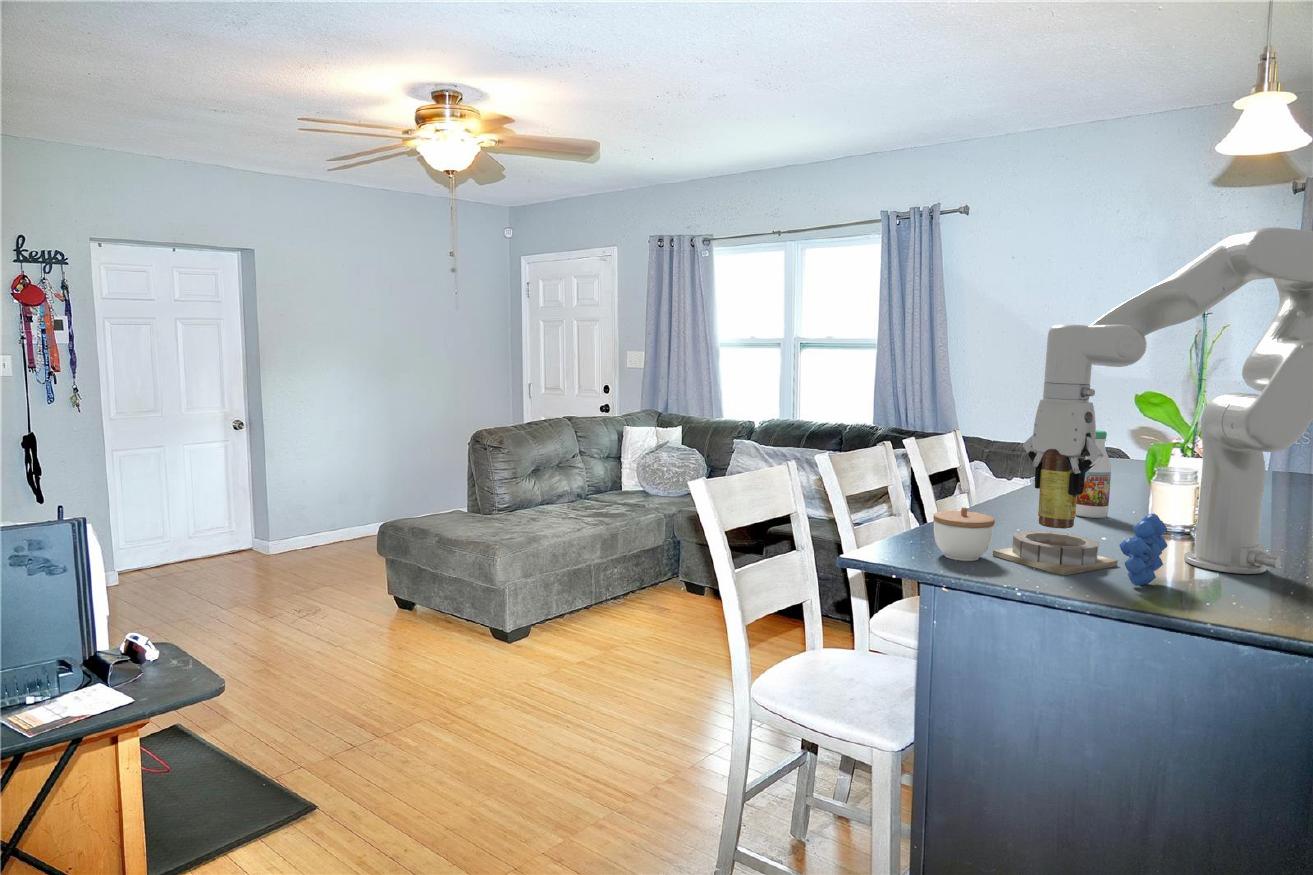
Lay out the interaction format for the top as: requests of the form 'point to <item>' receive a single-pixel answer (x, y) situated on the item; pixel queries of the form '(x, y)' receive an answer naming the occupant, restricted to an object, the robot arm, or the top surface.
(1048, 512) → the sauce bottle
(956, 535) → the lidded jar
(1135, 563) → the grapes
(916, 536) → the top surface
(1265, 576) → the top surface
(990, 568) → the top surface
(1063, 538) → the collar board
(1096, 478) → the milk bottle
